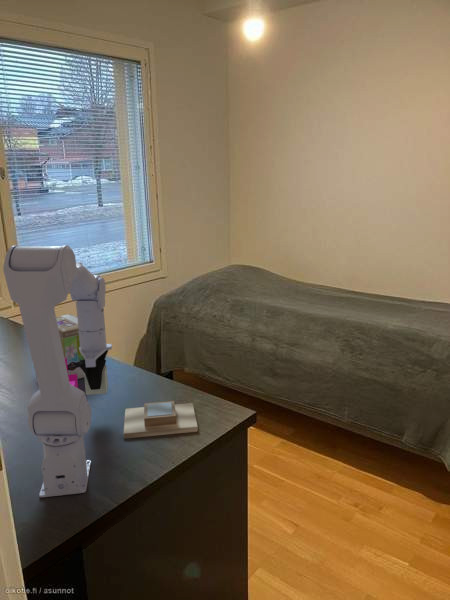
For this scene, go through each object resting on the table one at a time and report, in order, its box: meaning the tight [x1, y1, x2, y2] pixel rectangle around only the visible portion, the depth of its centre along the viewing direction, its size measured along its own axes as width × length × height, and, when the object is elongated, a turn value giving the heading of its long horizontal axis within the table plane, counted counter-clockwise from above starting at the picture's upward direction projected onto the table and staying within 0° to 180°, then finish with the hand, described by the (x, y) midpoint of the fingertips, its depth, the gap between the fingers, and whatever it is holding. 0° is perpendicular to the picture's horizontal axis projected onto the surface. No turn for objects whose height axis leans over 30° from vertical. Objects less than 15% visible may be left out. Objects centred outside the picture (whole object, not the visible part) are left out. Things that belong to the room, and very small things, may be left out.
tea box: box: [56, 313, 85, 380], centre depth 134 cm, size 15×10×15 cm
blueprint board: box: [122, 400, 199, 439], centre depth 107 cm, size 11×16×3 cm
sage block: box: [83, 364, 109, 396], centre depth 108 cm, size 4×4×5 cm
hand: (96, 383), depth 108 cm, fingers closed on sage block, 4 cm apart
